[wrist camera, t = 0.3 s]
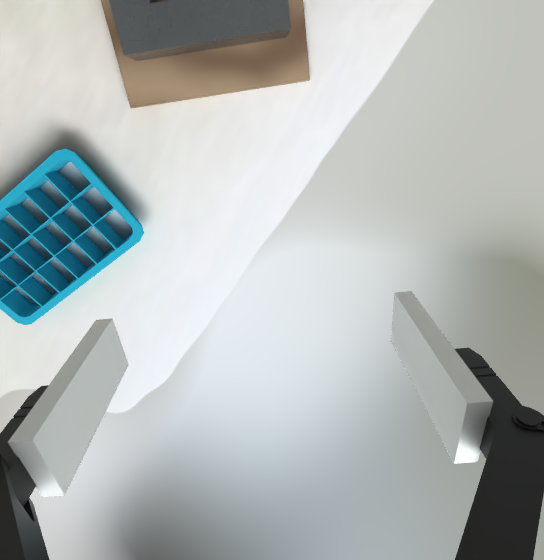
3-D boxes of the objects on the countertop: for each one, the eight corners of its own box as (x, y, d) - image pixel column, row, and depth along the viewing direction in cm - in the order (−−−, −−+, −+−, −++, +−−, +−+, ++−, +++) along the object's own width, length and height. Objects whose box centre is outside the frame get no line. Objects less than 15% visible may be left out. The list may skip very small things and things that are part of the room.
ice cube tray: (-43, 247, 43) (-64, 256, 40) (78, 140, 38) (65, 142, 36) (38, 316, 47) (24, 328, 44) (155, 226, 43) (148, 234, 40)
